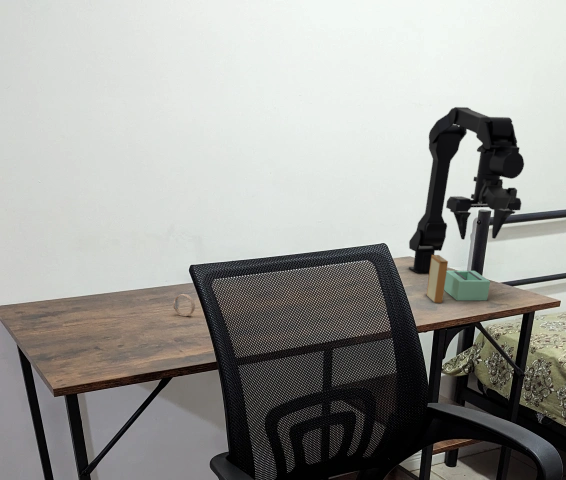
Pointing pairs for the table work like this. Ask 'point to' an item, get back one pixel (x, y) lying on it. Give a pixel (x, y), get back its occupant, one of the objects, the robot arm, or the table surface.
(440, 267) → the toast
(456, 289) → the toaster
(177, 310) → the beige ring
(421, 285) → the table surface
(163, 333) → the table surface
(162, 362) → the table surface
